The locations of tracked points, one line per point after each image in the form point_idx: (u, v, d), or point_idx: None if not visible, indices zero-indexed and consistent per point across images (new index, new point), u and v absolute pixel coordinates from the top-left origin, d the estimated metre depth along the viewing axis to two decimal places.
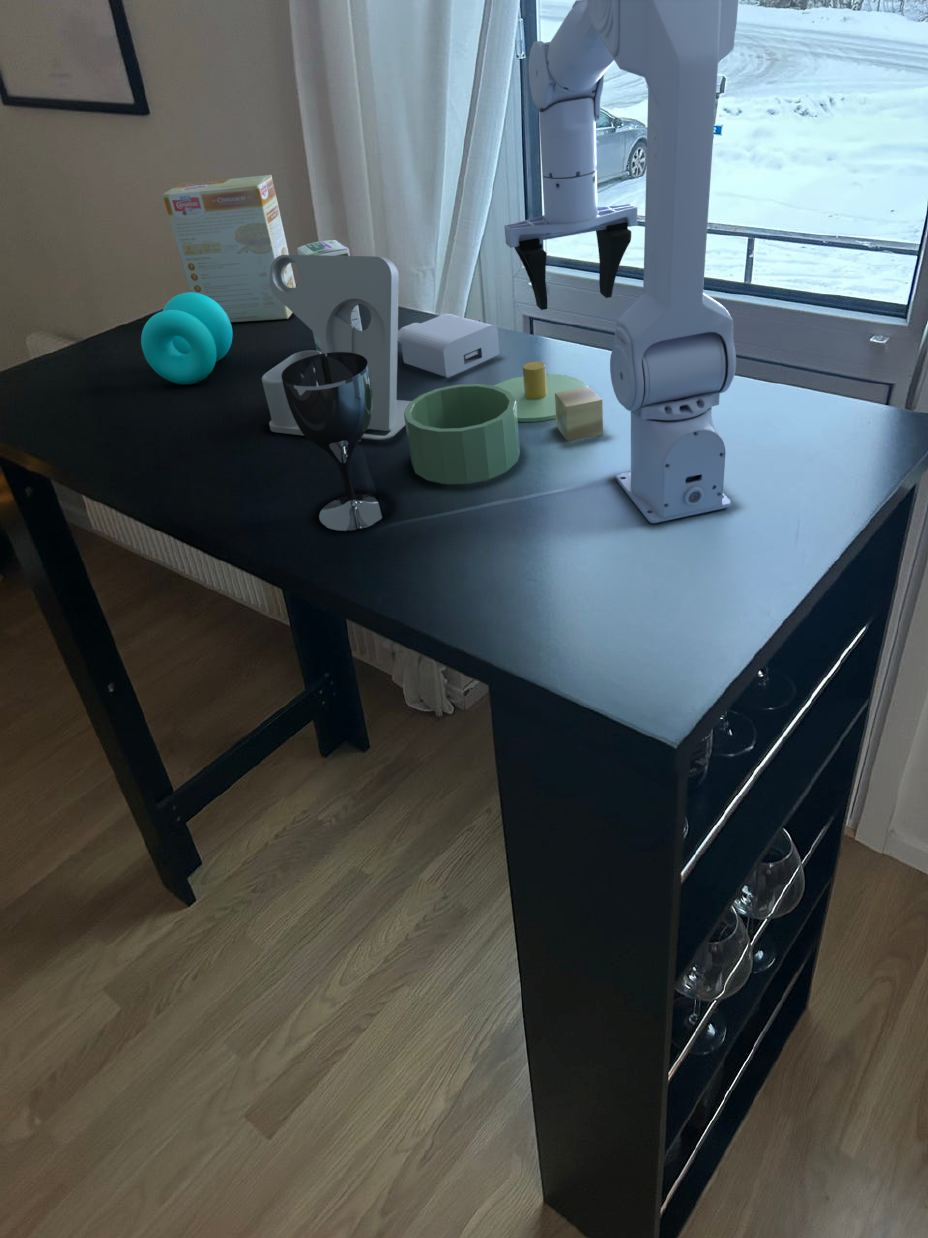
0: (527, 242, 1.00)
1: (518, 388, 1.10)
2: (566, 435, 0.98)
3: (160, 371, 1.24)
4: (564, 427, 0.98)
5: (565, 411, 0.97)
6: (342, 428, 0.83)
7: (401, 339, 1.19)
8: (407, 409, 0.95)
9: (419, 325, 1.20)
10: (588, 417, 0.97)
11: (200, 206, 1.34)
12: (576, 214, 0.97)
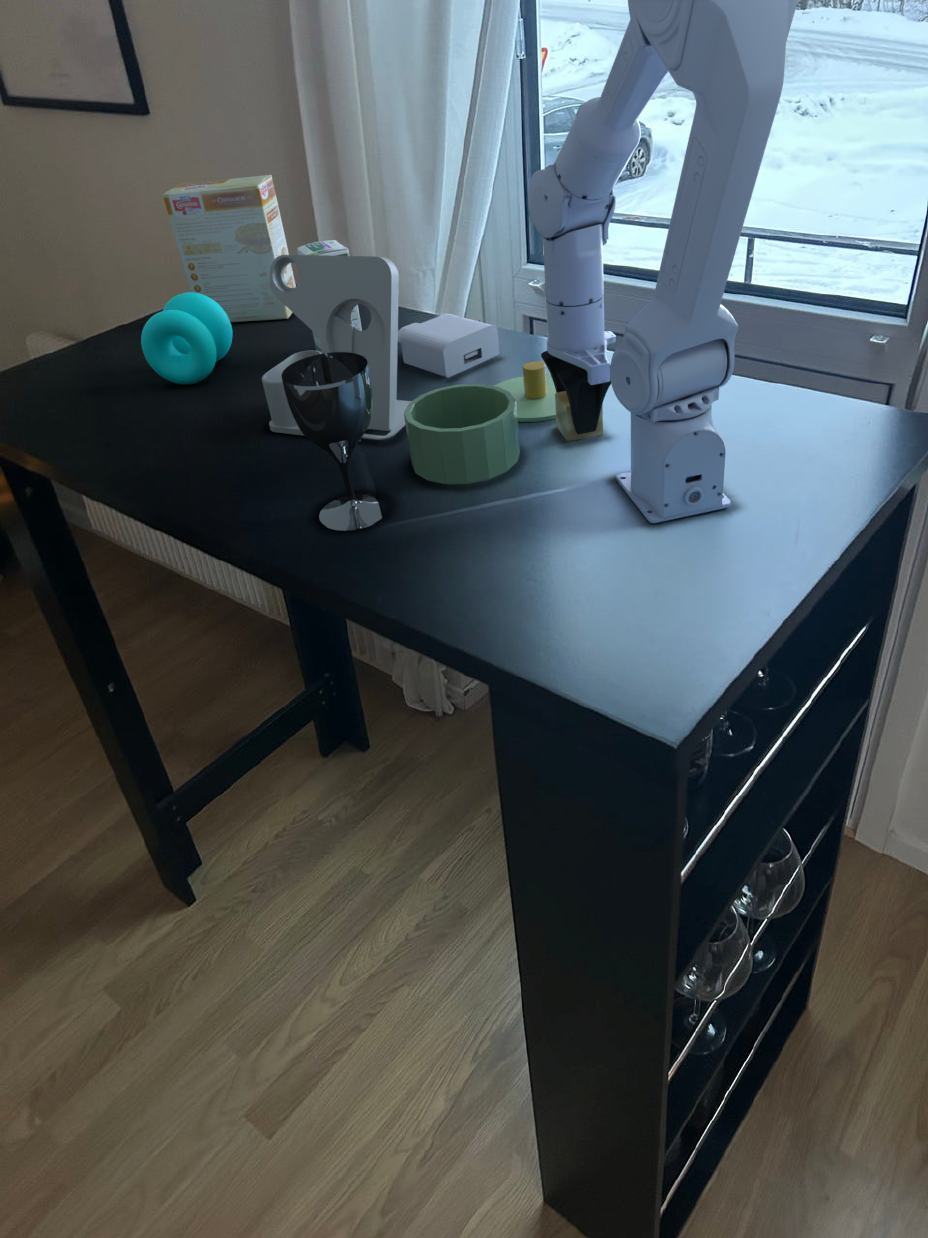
0: None
1: (518, 388, 1.10)
2: (566, 435, 0.98)
3: (160, 371, 1.24)
4: (564, 427, 0.98)
5: (565, 411, 0.97)
6: (342, 428, 0.83)
7: (401, 339, 1.19)
8: (407, 409, 0.95)
9: (419, 325, 1.20)
10: None
11: (200, 206, 1.34)
12: (548, 336, 0.94)
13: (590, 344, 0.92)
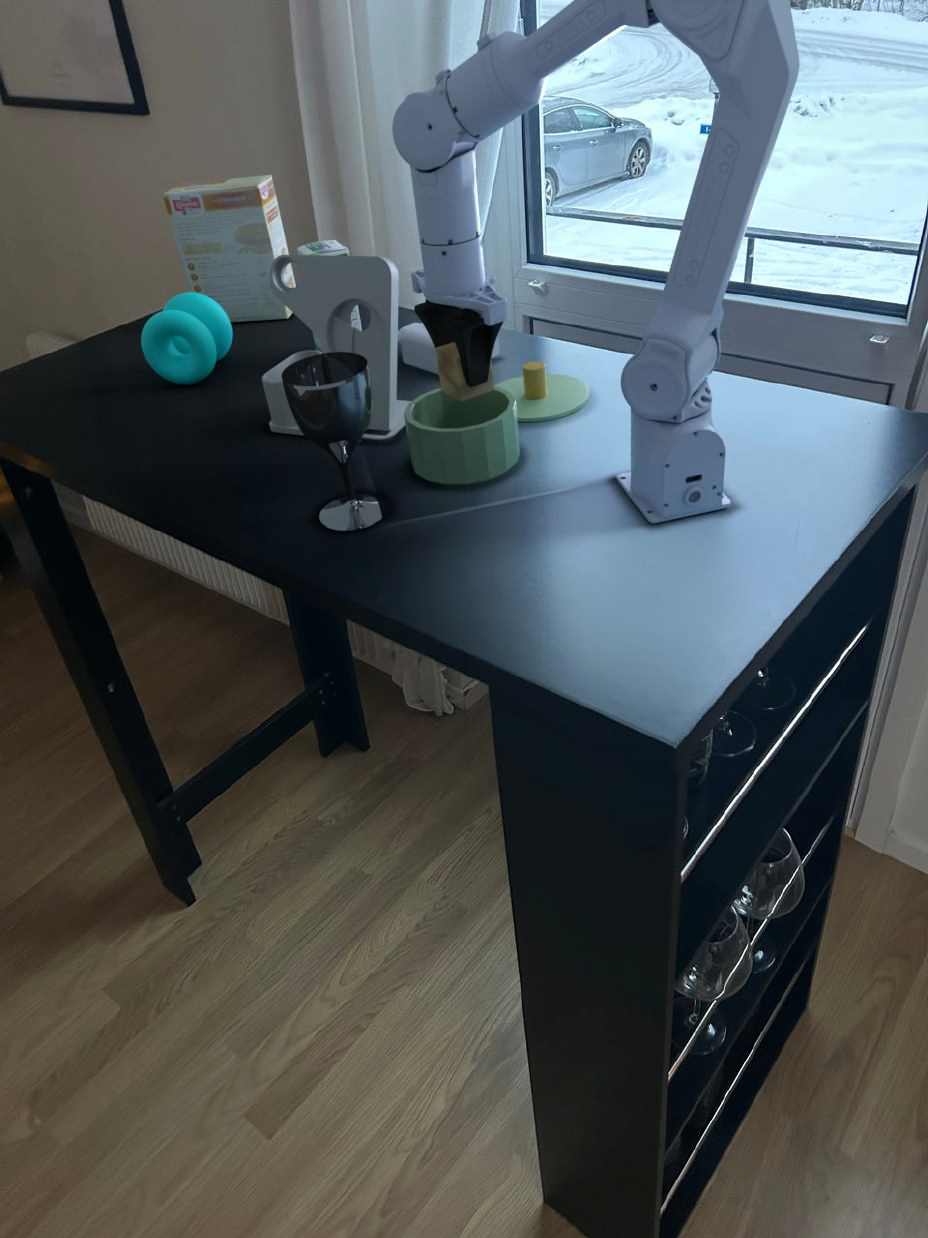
0: None
1: (518, 388, 1.10)
2: (457, 390, 0.91)
3: (160, 371, 1.24)
4: (454, 382, 0.91)
5: (454, 364, 0.90)
6: (342, 428, 0.83)
7: (401, 339, 1.19)
8: (407, 409, 0.95)
9: (419, 325, 1.20)
10: None
11: (200, 206, 1.34)
12: (427, 282, 0.86)
13: (475, 285, 0.85)
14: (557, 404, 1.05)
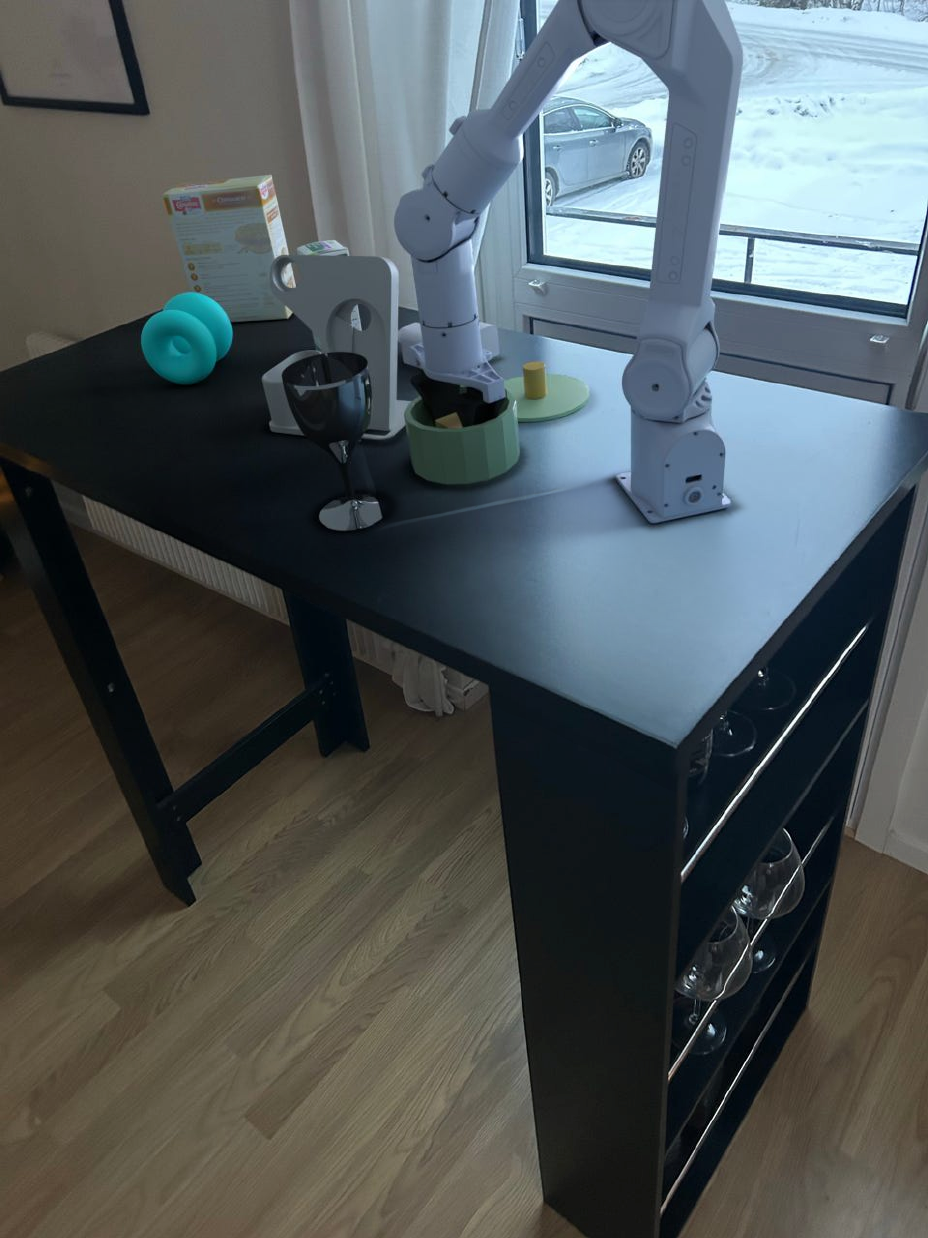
0: None
1: (518, 388, 1.10)
2: None
3: (160, 371, 1.24)
4: None
5: None
6: (342, 428, 0.83)
7: (401, 339, 1.19)
8: (407, 409, 0.95)
9: (419, 325, 1.20)
10: None
11: (200, 206, 1.34)
12: (427, 361, 0.90)
13: (474, 363, 0.90)
14: (557, 404, 1.05)
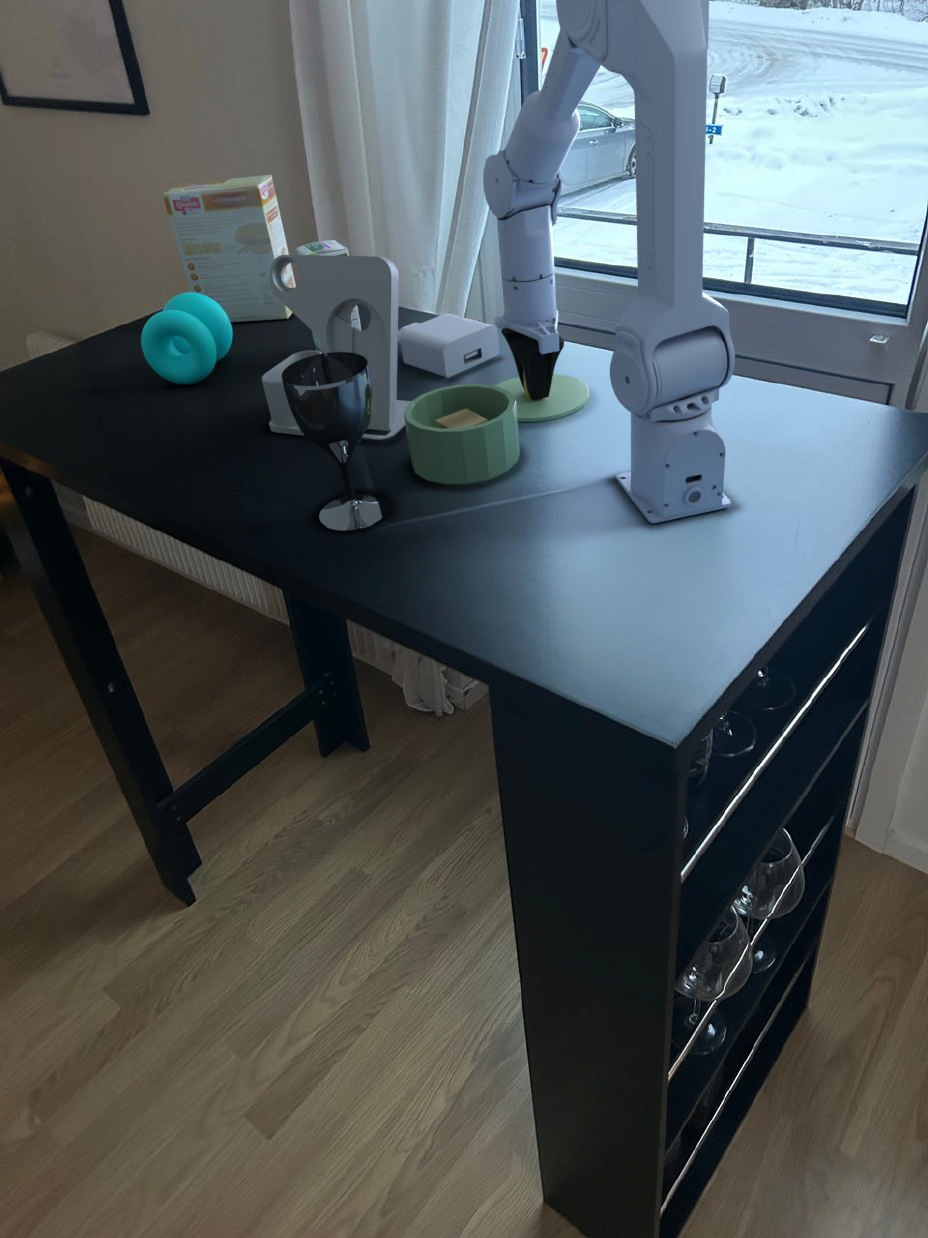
0: None
1: (518, 388, 1.10)
2: None
3: (160, 371, 1.24)
4: None
5: None
6: (342, 428, 0.83)
7: (401, 339, 1.19)
8: (407, 409, 0.95)
9: (419, 325, 1.20)
10: None
11: (200, 206, 1.34)
12: None
13: None
14: (557, 404, 1.05)
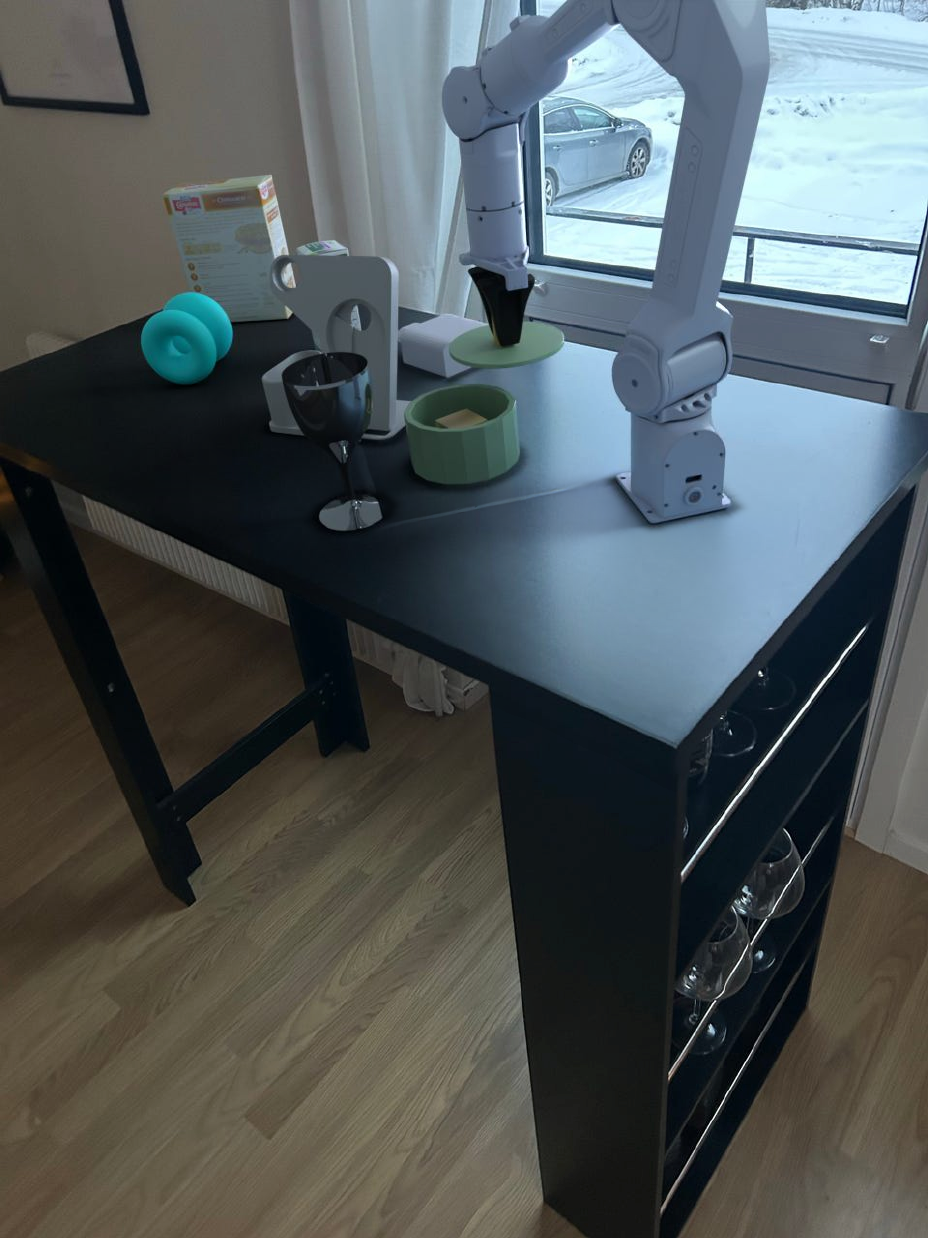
0: None
1: (488, 335, 1.01)
2: None
3: (160, 371, 1.24)
4: None
5: None
6: (342, 428, 0.83)
7: (401, 339, 1.19)
8: (407, 409, 0.95)
9: (419, 325, 1.20)
10: None
11: (200, 206, 1.34)
12: None
13: None
14: (528, 350, 0.96)
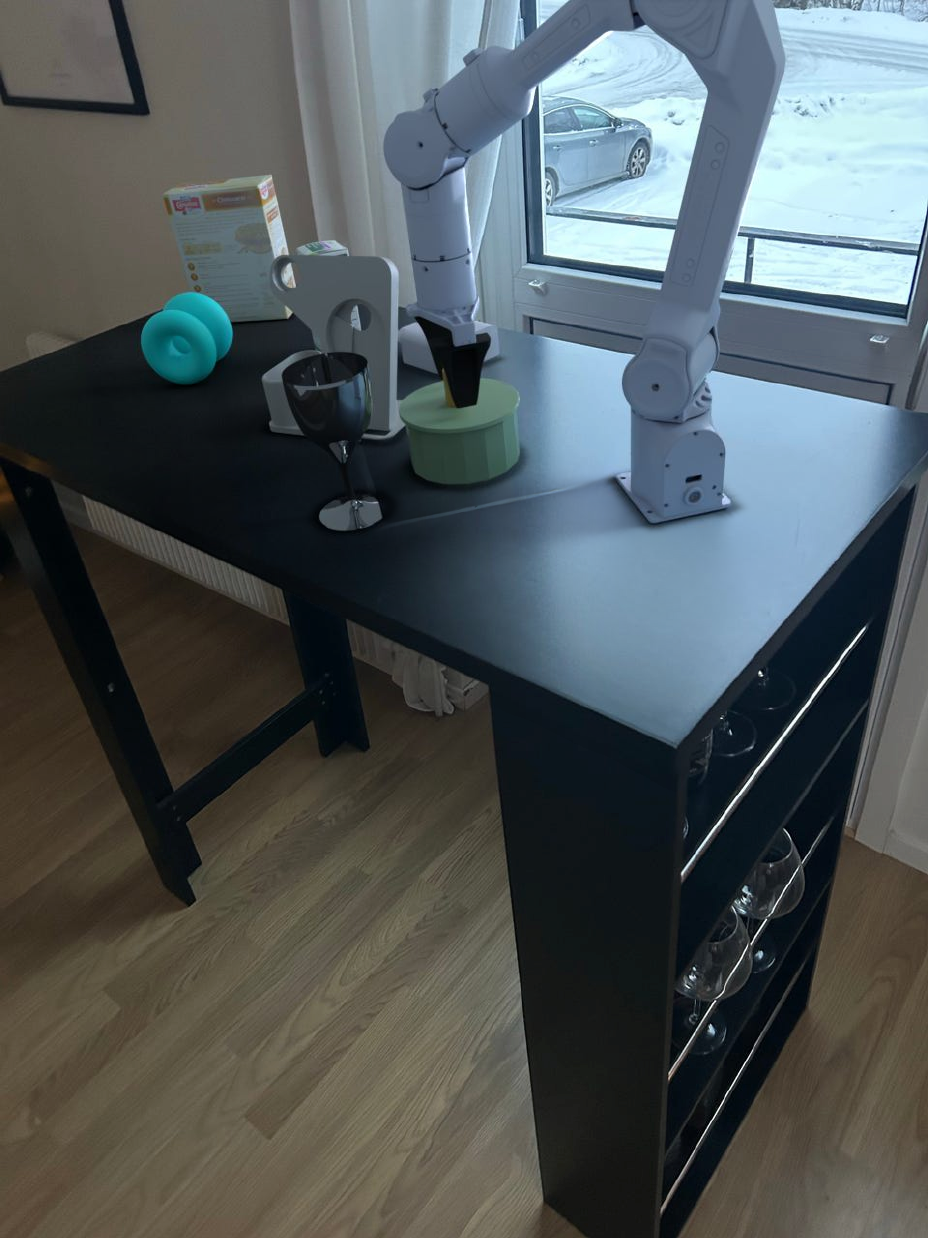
0: None
1: (440, 394, 0.96)
2: None
3: (160, 371, 1.24)
4: None
5: None
6: (342, 428, 0.83)
7: (401, 339, 1.19)
8: None
9: (419, 325, 1.20)
10: None
11: (200, 206, 1.34)
12: None
13: None
14: (481, 413, 0.91)
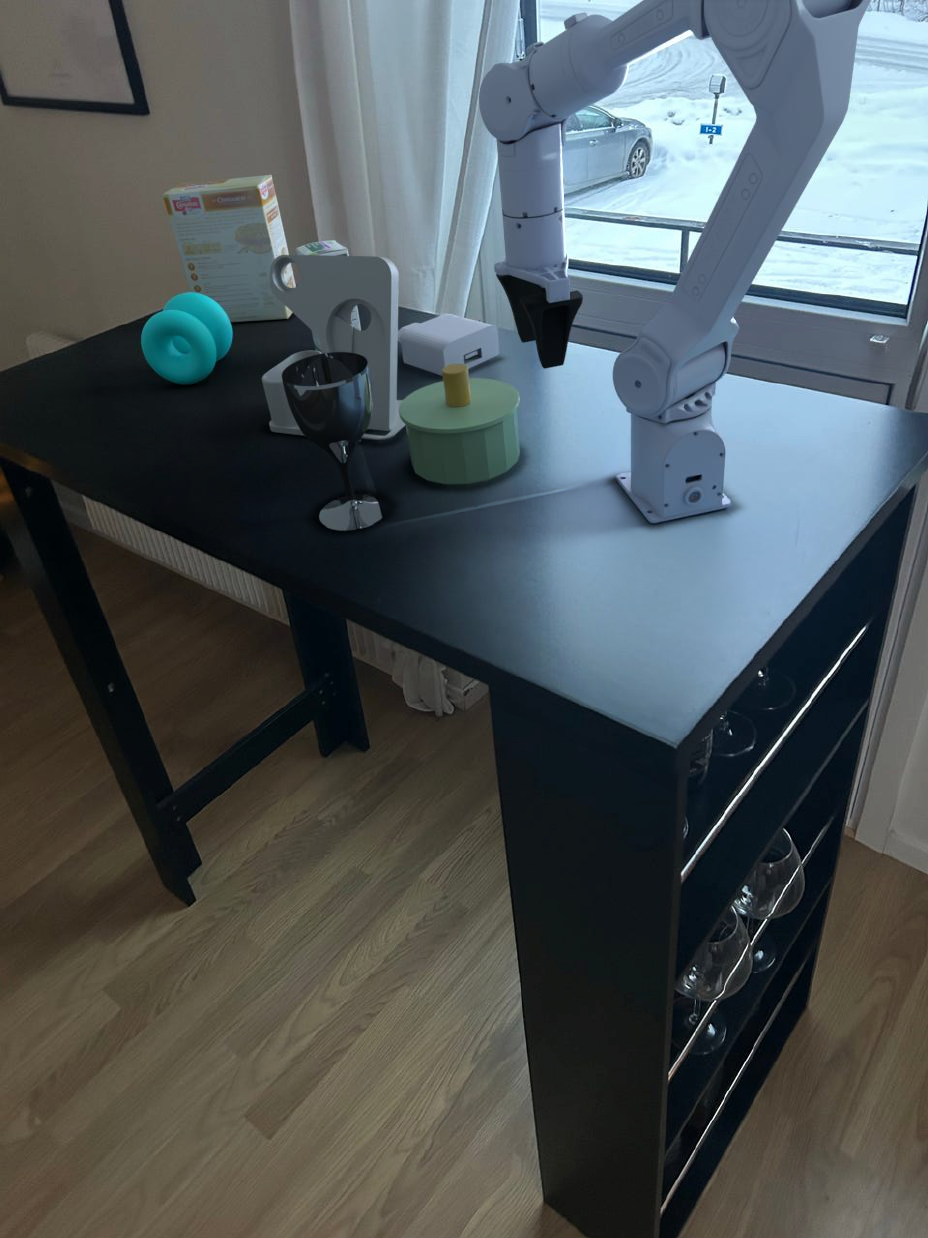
0: None
1: (440, 394, 0.96)
2: None
3: (160, 371, 1.24)
4: None
5: None
6: (342, 428, 0.83)
7: (401, 339, 1.19)
8: None
9: (419, 325, 1.20)
10: None
11: (200, 206, 1.34)
12: None
13: None
14: (481, 413, 0.91)
